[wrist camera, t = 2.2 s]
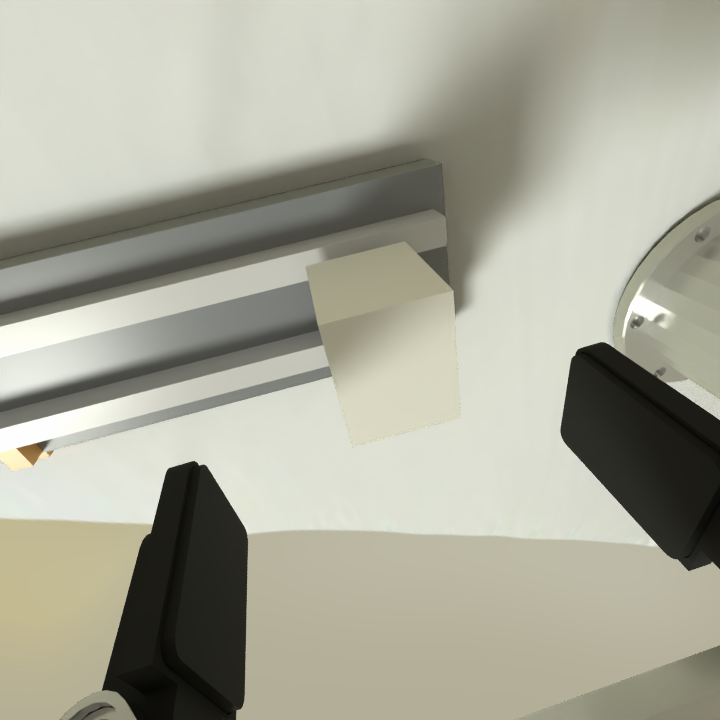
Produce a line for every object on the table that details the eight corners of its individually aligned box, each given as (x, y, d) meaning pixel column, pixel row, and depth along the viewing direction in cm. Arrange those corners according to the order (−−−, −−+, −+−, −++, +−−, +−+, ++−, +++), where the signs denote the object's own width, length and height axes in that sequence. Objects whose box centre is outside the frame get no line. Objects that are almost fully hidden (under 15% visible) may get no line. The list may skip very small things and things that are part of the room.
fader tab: (392, 228, 17) (453, 290, 11) (405, 326, 20) (460, 417, 14) (302, 250, 17) (317, 325, 11) (328, 346, 20) (352, 447, 14)
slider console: (426, 158, 18) (455, 168, 15) (440, 333, 23) (464, 365, 20) (-188, 304, 17) (-286, 347, 14) (-25, 455, 22) (-70, 508, 19)
